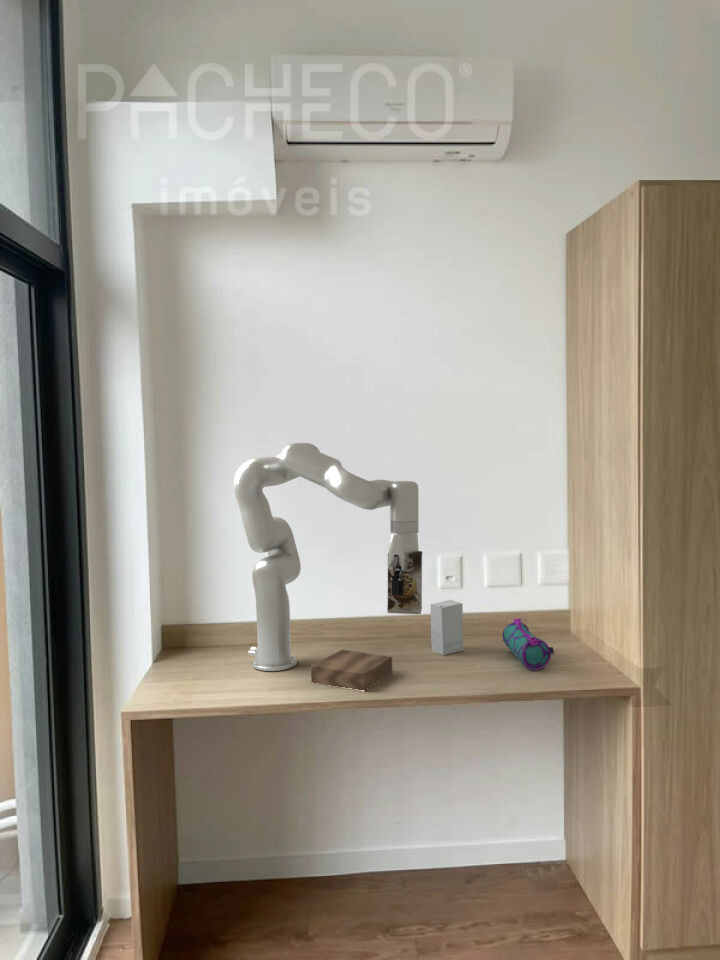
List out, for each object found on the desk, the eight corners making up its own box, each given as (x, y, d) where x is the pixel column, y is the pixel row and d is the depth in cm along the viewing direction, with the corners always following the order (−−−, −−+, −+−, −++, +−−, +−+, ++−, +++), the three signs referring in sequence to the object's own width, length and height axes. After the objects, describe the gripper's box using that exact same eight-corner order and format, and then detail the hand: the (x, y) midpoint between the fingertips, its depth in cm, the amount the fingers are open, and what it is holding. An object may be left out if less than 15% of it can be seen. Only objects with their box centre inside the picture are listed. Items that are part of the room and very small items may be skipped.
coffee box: (386, 613, 187) (386, 553, 186) (389, 607, 194) (388, 549, 192) (421, 614, 186) (421, 554, 185) (422, 608, 192) (422, 550, 191)
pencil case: (554, 671, 193) (553, 636, 192) (522, 673, 192) (522, 638, 192) (529, 649, 214) (529, 617, 213) (501, 650, 213) (500, 619, 212)
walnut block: (311, 684, 188) (311, 665, 188) (342, 666, 202) (341, 649, 202) (363, 693, 181) (363, 674, 180) (392, 674, 194) (391, 656, 194)
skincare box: (451, 646, 218) (451, 599, 217) (464, 651, 213) (463, 602, 212) (430, 651, 213) (429, 602, 213) (442, 656, 208) (441, 606, 207)
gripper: (405, 523, 198) (406, 584, 199) (376, 530, 183) (377, 597, 184) (430, 524, 194) (430, 587, 195) (402, 532, 179) (403, 600, 180)
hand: (404, 591), depth 189 cm, fingers closed on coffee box, 8 cm apart
